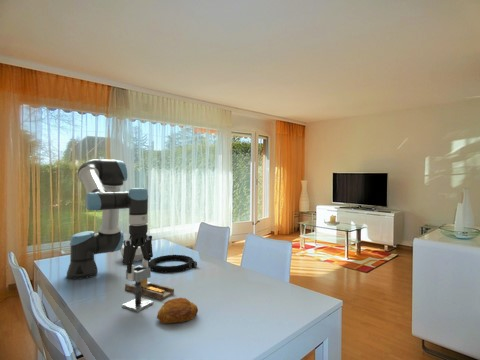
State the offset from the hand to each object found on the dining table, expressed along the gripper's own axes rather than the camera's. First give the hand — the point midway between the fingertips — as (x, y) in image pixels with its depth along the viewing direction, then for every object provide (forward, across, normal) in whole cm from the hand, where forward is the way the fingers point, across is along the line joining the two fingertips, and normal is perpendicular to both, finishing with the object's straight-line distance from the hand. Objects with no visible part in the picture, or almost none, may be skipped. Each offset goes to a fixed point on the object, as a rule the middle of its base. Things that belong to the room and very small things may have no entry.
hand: (138, 277), depth 125 cm
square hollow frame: (0, 0, 0) cm, 0 cm away
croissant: (+13, +1, -21) cm, 24 cm away
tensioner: (+11, +13, +6) cm, 18 cm away
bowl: (+12, +47, +56) cm, 74 cm away
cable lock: (+12, +49, +24) cm, 56 cm away
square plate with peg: (+12, 0, 0) cm, 12 cm away
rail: (+12, +13, +7) cm, 19 cm away
